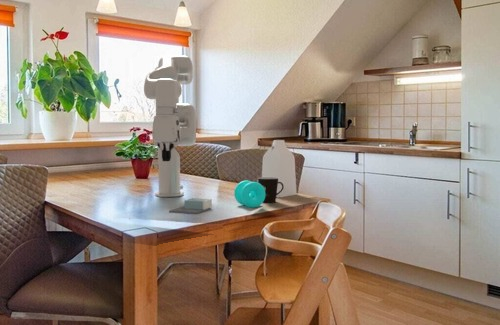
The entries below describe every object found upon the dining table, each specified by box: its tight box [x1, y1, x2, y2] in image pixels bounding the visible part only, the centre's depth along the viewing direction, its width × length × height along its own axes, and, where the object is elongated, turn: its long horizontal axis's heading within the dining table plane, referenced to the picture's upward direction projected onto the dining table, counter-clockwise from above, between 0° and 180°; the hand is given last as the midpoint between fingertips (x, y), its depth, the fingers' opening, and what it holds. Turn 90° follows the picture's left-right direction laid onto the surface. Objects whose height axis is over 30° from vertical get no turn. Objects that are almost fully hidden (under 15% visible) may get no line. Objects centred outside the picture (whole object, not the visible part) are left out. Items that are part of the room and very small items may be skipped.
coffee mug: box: [257, 176, 284, 204], centre depth 198 cm, size 12×9×10 cm
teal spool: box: [233, 179, 265, 209], centre depth 186 cm, size 10×10×10 cm
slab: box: [184, 197, 213, 210], centre depth 178 cm, size 7×3×8 cm
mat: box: [168, 205, 212, 215], centre depth 175 cm, size 12×11×1 cm
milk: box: [261, 139, 297, 198], centre depth 219 cm, size 12×12×26 cm
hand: (166, 160), depth 179 cm, fingers closed
